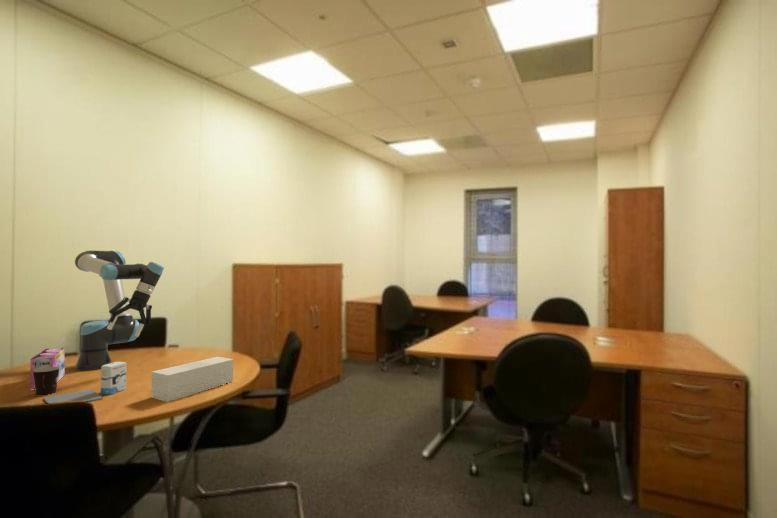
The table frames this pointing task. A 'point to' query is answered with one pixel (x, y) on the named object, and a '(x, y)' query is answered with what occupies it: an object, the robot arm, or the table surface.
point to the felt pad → (75, 397)
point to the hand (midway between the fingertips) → (122, 333)
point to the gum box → (48, 362)
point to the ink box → (113, 377)
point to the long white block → (191, 378)
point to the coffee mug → (46, 380)
